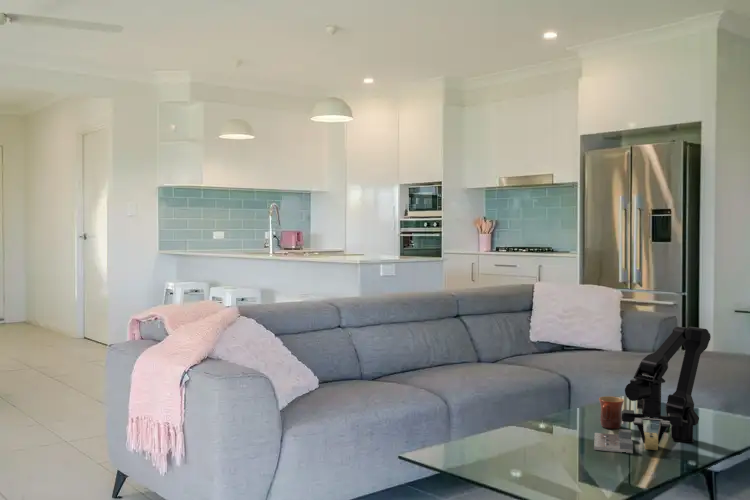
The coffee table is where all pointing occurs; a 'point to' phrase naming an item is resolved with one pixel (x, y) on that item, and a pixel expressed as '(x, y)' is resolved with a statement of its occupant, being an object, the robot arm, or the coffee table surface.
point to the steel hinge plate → (614, 442)
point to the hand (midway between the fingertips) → (650, 443)
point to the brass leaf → (651, 441)
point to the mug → (611, 412)
